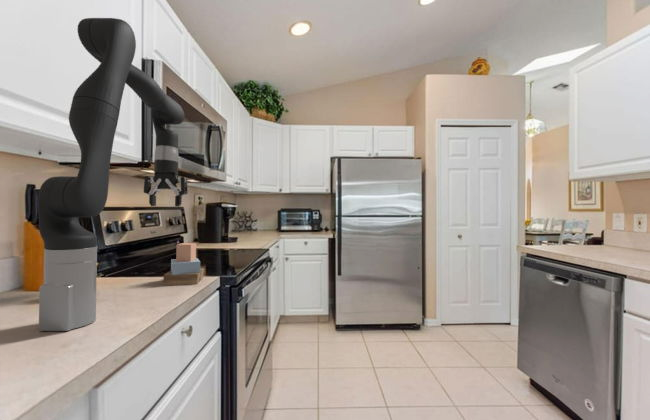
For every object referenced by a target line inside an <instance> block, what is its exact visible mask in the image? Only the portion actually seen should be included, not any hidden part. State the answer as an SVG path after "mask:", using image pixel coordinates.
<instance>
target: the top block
mask: <svg viewBox="0 0 650 420" xmlns="http://www.w3.org/2000/svg"><path fill="white" fill-rule="evenodd" d="M200 268H201V261H200V259H199V258H198V257H196V259H195V260H193V261H191V262H182V261H176V258H175V259H172V258H171V260H170V271H171V272H172V275H179V274H191V273H200Z"/></svg>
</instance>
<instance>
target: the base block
mask: <svg viewBox="0 0 650 420" xmlns="http://www.w3.org/2000/svg"><path fill="white" fill-rule="evenodd" d="M204 277H205V268H202V267H200V273H191V274H179V275H172V272H171V270H169V271H168V272H166V273H164V274H163V286H178V285H177V284H187V285H198V284H199V283H200V282H201V281H202V280H203V279H204Z"/></svg>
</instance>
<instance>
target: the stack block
mask: <svg viewBox="0 0 650 420" xmlns="http://www.w3.org/2000/svg"><path fill="white" fill-rule="evenodd" d="M175 251H176V252H175V253H176V254H175V255H176V258H175V259H176V261H182V262H191V261H193V260H195V259H196V258H197V242H182V243H178V244H176V249H175Z"/></svg>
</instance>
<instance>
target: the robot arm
mask: <svg viewBox="0 0 650 420" xmlns="http://www.w3.org/2000/svg"><path fill="white" fill-rule="evenodd" d="M77 35H78V39H79V40H80V43H81V44H82V46H83V48H84V49H85V50H86V51H87V52H88V53H89V54H90V56H92V57H93V58H94V59H95V60H97V61H98V62H99V63H100V64H99V65H98V67H96V69H95V70H94V71H93V72H92V73H91V74H90V75H89V76H88V77H87V78H85V80H83V82H82V83H80V85H79V86H78V87H77V88H76V89H75V91H74V94H73V96H72V100H71V104H70V109H69V114H68V122H69V127H70V129H71V131H72V135H73V136H74V138H75V140H76V142H77V144H78V146H79V149H80V154H81V155H80V164H79V169H78V173H77V176H64V175H63V176H62V175H61V176H52V177H49V178H47V179H45V181H44V182H43V183H42V184H41V185H40V188H39V191H38V198H37V209H38V210H37V211H38V212H37V213H38V228H39V235H40V237H41V239H42V241H43V244H44V245H43V284H42V285H40V286H39V290H38V292H39V293H38V294H39V295H38V296H39V298H38V300H39V301H38V302H39V303H38V304H39V305H38V306H39V307H38V331H39V332H45V331H46V332H69V331H70V330H74V329H78V328H81V327H85V326H87V325H90V324H92V323H94V322H95V321H96V320H97V318H96V317H97V276H98V275H97V274H98V273H97V271H98V270H97V268H98V262H97V261H98V237H97V235H96V233H94V232H92V231H89V230H87V229H85V228H84V227H83V226H81V224H80V222H79V218H94V217H97V216H98V215H100V214H101V213H102V212H103V210H104V209H105V207H106V204H107V200H108V195H109V183H110V170H111V168H110V167H111V159H112V152H113V147H114V146H113V145H114V142H115V141H114V140H115V135H116V131H117V126H118V121H119V119H120V117H119V116H120V114H121V113H120V111H121V104H122V99H123V95H124V91H125V90H124V89H125V87H126V85H127V86H128V87H130V89H131V90H132V91H133V92H134V93H135V94H136V95H137V96H138V98H139V99H140V100H141V101H142V102H143V104H145V105H146V107H147V108H149V109H150V118H151V121H152V124H153V127H154V128H153V129H154V132H155V149H154V158H153V159H154V160H153V161H154V165H153V166H154V168H153V172H154V175H153V176H147V175H146V176H144V182H143V183H144V184H143V193H144V194H147V195H148V196H149V200H148V204H149V205H150V206H151V207H156V206H157V194H158V192H159V191H160V192H161V190H171V191H173V193H174V194H175V195H174V197H175V199H174V206H175V207H178V208H180V206H181V205H182V197H183V196H185V195H187V194H188V192H189V191H188V178H187V177H185V176H180V177H179V161H180V160H179V155H180V154H179V135H178V132H176V131H173V130H170V129H167V127H166V125H174V126H175V125H181V124H182V123H184V121H185V115H186V114H185V112H184V110H183V107H182V106H181V105H180V104H179V103H178V102H177V101H175V100H174V99H173V98H172V97H171V96H170V95H168V94H166V93H165V92H164V90H163V89H162V87H161V86H160V85H159V84H158V83H157V81H156V80H155V79H154V78H152V76H150V75H149V74H148V73H146V72H144V70H142V69H140V68H138V67H137V66H135V65H134V64H132V63H133V61H134V59H135V56H136V55H135V54H136V48H137V47H136V46H137V40H136V35H135V32H134V30H133V27H132V26H131V25H130V23H128V22H127V21H125V20H123V19H120V18H114V17H86V18H83V19H81V20H80V21H79V22H78V25H77ZM152 183H154V184H153V185H152ZM178 183H179V184H180V187H179V186H178V185H177V184H178Z"/></svg>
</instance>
